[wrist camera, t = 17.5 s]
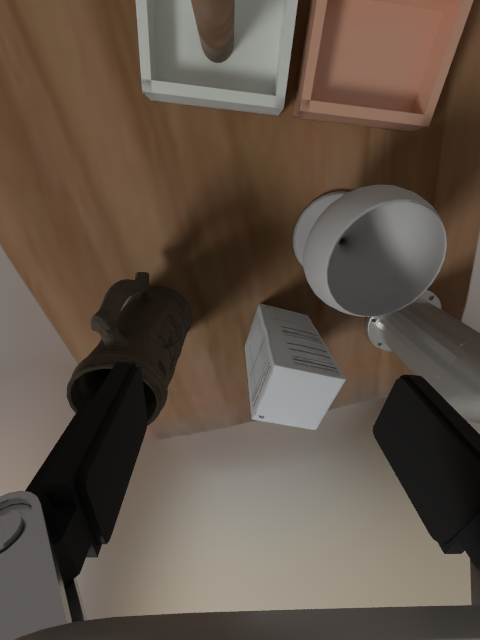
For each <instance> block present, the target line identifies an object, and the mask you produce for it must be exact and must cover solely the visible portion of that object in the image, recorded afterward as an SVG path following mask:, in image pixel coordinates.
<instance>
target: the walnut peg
mask: <svg viewBox="0 0 480 640" xmlns="http://www.w3.org/2000/svg"><path fill="white" fill-rule="evenodd" d="M191 3H192V7H193V12H194V16H195V20H196V25H197V29H198V33H199V38H200V42H201V46H202V50H203V52H204V54H205V55H206V57H207V58H208V59H209V60H211V61H212V62H215V63H222V62H224V61H226V60H227V59H228V58H229V57H230V55H231V53H232V51H233V47H234V14H235V0H191Z"/></svg>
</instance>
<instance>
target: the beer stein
mask: <svg viewBox="0 0 480 640" xmlns="http://www.w3.org/2000/svg"><path fill="white" fill-rule="evenodd" d="M132 295H133V296H132ZM130 296H132V297H131V298H130V299H129V301H128V303H127V304H126V305H125V307H124V308H123V309H122V311H121V308H122V306H123V304H124V303H125V301H126V300H127V298H129V297H130ZM120 311H121V312H120ZM190 323H191V314H190V310H189V308H188V305H187V304H186V302H185V301H184V300H183V299H182V298H181V297H180V296H179V295H178V294H177V293H175V292H173V291H171V290H168V289H165V288H161V287H149V274H148V273H146V272H137V273H136V276H135V280H129V279H126V280H121V281H119V282H117V283H115V284H114V285H113V286H112V287H111V288H110V289H109V290H108V292H107V293H106V295H105V298H104V300H103V302H102V305H101V307H100V309H99V311H98V312H97V313H96V314H95V315H94V316H93V317H92V319H91V329H92V330H93V331H96V332H98V333H100V335H101V338H102V339H101V341H100V343H99V344H98V346H97V347H96V348H95V349H94V350H93V351H92V352H91V353H90V354H89V356H88V357H87V358H85V359H84V360H83V361H82V362H81V363H79V364H78V366H77V367H76V368H75V370H74V372H73V374H72V377H71V379H70V381H69V383H68V386H67V399H68V401H69V404H70V406H71V408H72V409H73V411H74V412H75V413H77V411H78V410H79V408H80V407H81V405H82V404H83V403H84V402H85V401H87V400H93V399H94V397H95V395H96V394H97V392H98V391H99V389H100V387H101V386H102V384H103V383H104V381H105V379H106V378H107V376H108V374H109V373H110V371H111V370H112V368H113V366H114V365H115V363H116V362H134V363H135V364H136V367H141V370H142V379H143V387H144V395H145V404H146V412H147V426H148V425H149V424H150V423H152V422H153V421H154V420H155V419H156V418H157V416H158V415H159V413H160V411H161V410H162V408H163V407H164V405H165V402H166V400H167V394H168V391H167V387H168V384H169V383H170V381H171V379H172V377H173V374H174V371H175V366H176V363H177V360H178V358H179V356H180V353H181V349H182V346H183V343H184V340H185V337H186V335H187V331H188V330H189V327H190Z"/></svg>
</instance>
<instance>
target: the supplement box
mask: <svg viewBox="0 0 480 640" xmlns="http://www.w3.org/2000/svg"><path fill="white" fill-rule="evenodd" d="M245 354H246V364H247V374H248V384H249V396H250V406H251V416H252V419H254V420H259V421H265V422H271V423H277V424H283V425H288V426H294V427H300V428H306V429H313V430H316V429H317V427H318V425H319V424H320V422H321V420H322V419H323V417H324V415H325V414H326V412H327V410H328V409H329V407H330V405H331V404H332V402H333V400H334V398H335V397H336V395H337V393H338V392H339V390H340V388H341V387H342V385H343V383H344V382H345V380H346V378H345V376H344V374H343V373H342V371H341V369H340V368H339V366H338V365H337V363H336V361H335V360H334V358H333V356H332V355H331V353H330V351H329V350H328V348H327V346H326V345H325V343H324V341H323V340H322V338H321V336H320V335H319V333H318V331H317V330H316V328H315V326H314V325H313V323H312V322H311V320H310V318H309V317H308V315H305V314H301V313H297V312H293V311H289V310H285V309H281V308H277V307H273V306H269V305H265V304H259V306H258V308H257V311H256V314H255V317H254V320H253V323H252V326H251V329H250V332H249V335H248V338H247V341H246V344H245Z"/></svg>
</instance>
